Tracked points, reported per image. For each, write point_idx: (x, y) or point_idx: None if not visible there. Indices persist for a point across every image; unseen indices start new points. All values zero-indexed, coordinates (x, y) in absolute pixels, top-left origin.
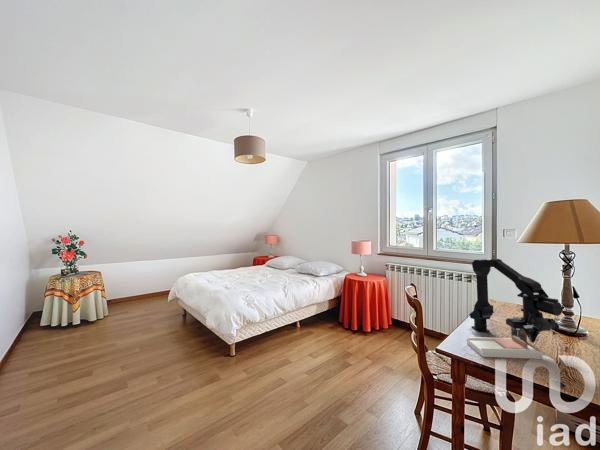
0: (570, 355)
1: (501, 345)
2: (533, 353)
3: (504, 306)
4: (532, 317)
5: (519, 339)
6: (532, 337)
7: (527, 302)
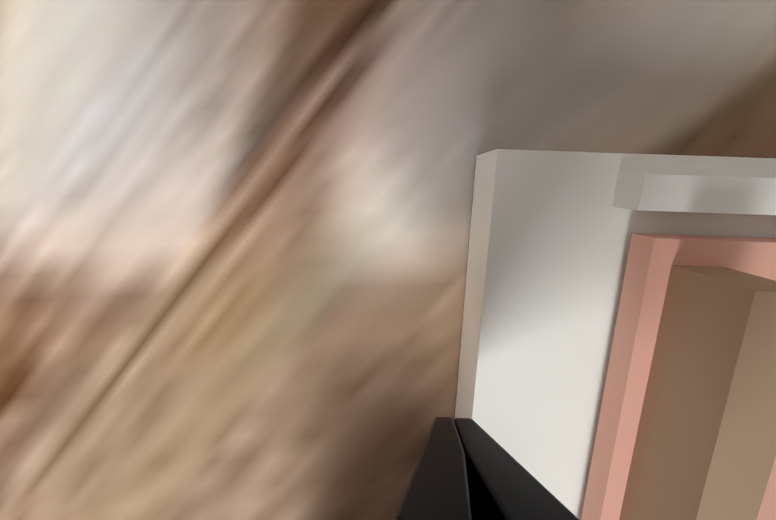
0: (39, 267)
1: None
2: (629, 156)
3: None
4: None
5: (741, 477)
6: (518, 491)
7: None
